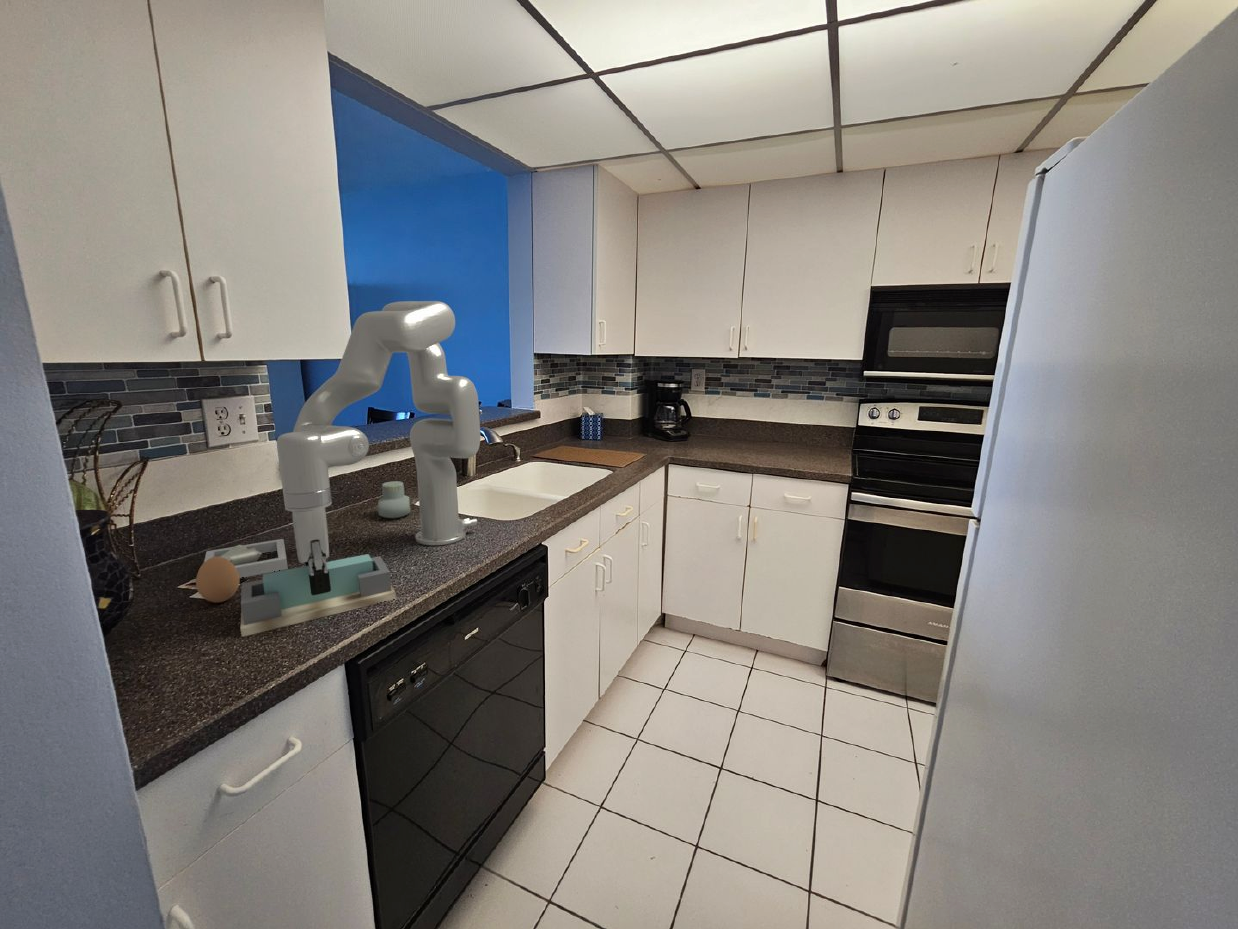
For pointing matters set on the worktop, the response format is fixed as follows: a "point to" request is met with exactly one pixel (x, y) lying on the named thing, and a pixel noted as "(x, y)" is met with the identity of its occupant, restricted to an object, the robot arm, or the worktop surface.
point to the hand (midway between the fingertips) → (318, 583)
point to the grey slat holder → (268, 605)
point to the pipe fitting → (241, 555)
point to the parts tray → (260, 566)
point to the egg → (217, 579)
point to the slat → (297, 584)
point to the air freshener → (393, 500)
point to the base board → (316, 611)
